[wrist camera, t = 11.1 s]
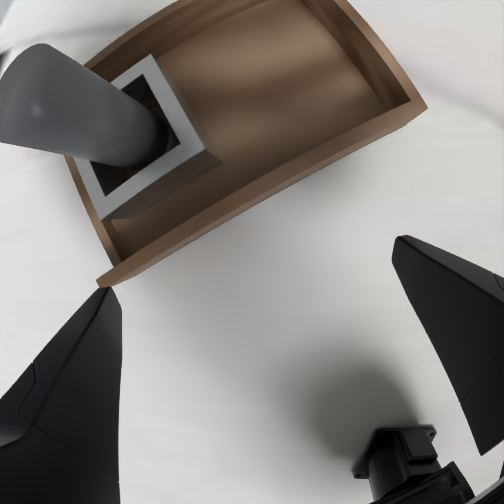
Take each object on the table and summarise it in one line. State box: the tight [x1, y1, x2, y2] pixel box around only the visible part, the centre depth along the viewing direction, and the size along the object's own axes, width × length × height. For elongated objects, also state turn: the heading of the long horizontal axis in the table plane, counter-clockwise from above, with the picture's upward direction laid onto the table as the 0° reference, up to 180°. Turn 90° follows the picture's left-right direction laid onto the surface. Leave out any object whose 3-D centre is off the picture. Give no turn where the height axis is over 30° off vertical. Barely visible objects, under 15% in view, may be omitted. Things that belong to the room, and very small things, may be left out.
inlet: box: [73, 54, 223, 221], centre depth 18 cm, size 8×8×4 cm
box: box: [64, 0, 428, 288], centre depth 18 cm, size 15×23×4 cm, turn 119°
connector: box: [0, 43, 177, 171], centre depth 14 cm, size 4×4×13 cm
